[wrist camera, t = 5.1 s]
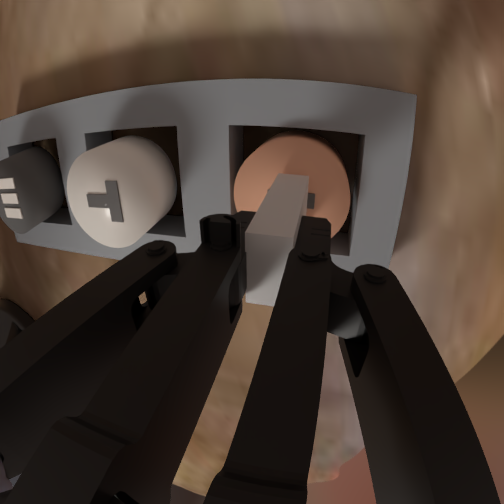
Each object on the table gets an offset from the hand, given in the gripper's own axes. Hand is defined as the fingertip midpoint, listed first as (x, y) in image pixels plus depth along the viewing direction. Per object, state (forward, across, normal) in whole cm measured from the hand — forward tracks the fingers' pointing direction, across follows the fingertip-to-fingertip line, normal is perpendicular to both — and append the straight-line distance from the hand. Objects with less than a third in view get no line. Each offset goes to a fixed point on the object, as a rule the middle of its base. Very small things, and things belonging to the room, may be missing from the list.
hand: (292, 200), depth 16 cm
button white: (+2, -10, 0) cm, 10 cm away
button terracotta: (+4, 0, 0) cm, 4 cm away
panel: (+4, -10, 0) cm, 11 cm away
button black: (+2, -20, 0) cm, 20 cm away
